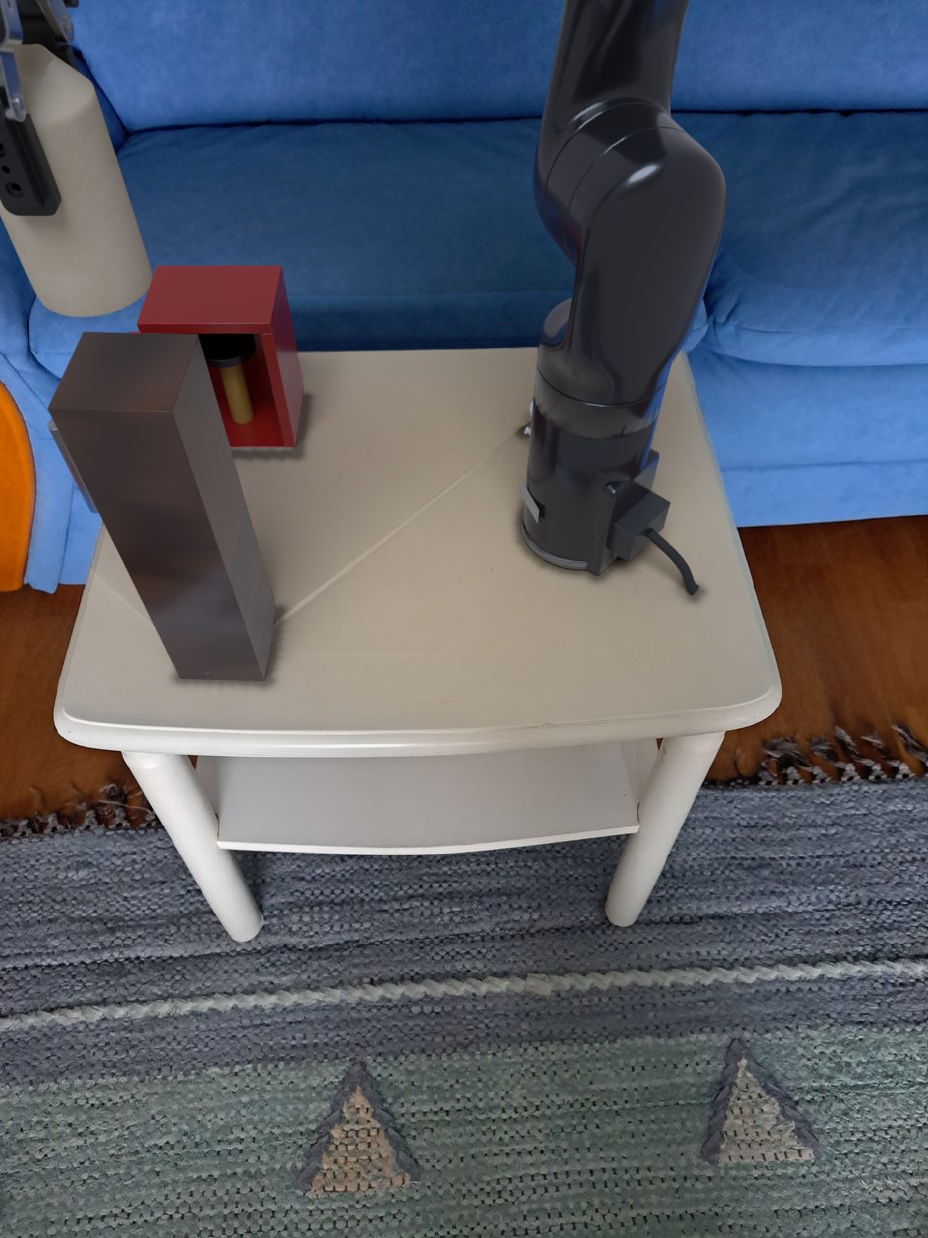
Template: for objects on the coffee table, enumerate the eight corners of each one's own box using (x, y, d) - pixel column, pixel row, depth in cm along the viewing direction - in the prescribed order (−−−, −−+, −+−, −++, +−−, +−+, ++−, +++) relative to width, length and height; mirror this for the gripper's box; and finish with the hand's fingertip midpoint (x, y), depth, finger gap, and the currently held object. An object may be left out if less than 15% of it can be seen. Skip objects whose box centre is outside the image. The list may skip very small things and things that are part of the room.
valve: (283, 415, 81) (267, 339, 74) (239, 444, 79) (218, 368, 72) (247, 391, 83) (228, 314, 76) (203, 418, 81) (180, 342, 74)
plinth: (277, 612, 69) (198, 333, 48) (264, 681, 65) (171, 411, 44) (197, 610, 69) (83, 330, 48) (179, 678, 65) (46, 408, 44)
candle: (124, 325, 40) (39, 94, 32) (15, 311, 41) (-94, 80, 33) (171, 260, 44) (105, 34, 35) (69, 247, 44) (-18, 22, 36)
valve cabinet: (297, 454, 79) (270, 323, 68) (182, 455, 79) (135, 323, 68) (305, 397, 84) (281, 264, 73) (196, 397, 84) (156, 264, 73)
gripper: (-196, -458, 28) (18, 98, 42) (-470, -404, 20) (-91, 268, 34) (34, -456, 28) (173, 98, 42) (-142, -403, 20) (103, 268, 34)
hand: (55, 171), depth 38 cm, fingers closed on candle, 5 cm apart
